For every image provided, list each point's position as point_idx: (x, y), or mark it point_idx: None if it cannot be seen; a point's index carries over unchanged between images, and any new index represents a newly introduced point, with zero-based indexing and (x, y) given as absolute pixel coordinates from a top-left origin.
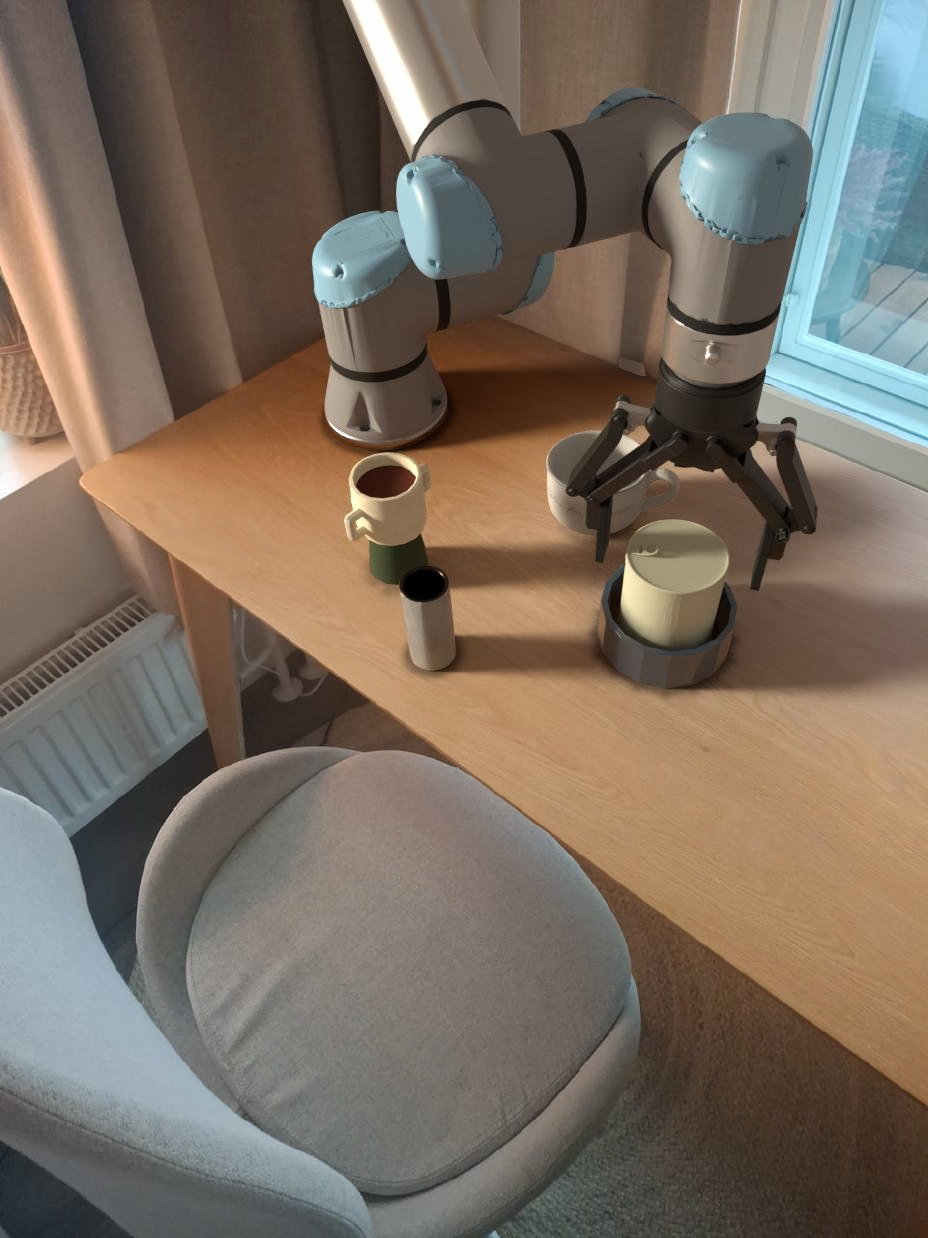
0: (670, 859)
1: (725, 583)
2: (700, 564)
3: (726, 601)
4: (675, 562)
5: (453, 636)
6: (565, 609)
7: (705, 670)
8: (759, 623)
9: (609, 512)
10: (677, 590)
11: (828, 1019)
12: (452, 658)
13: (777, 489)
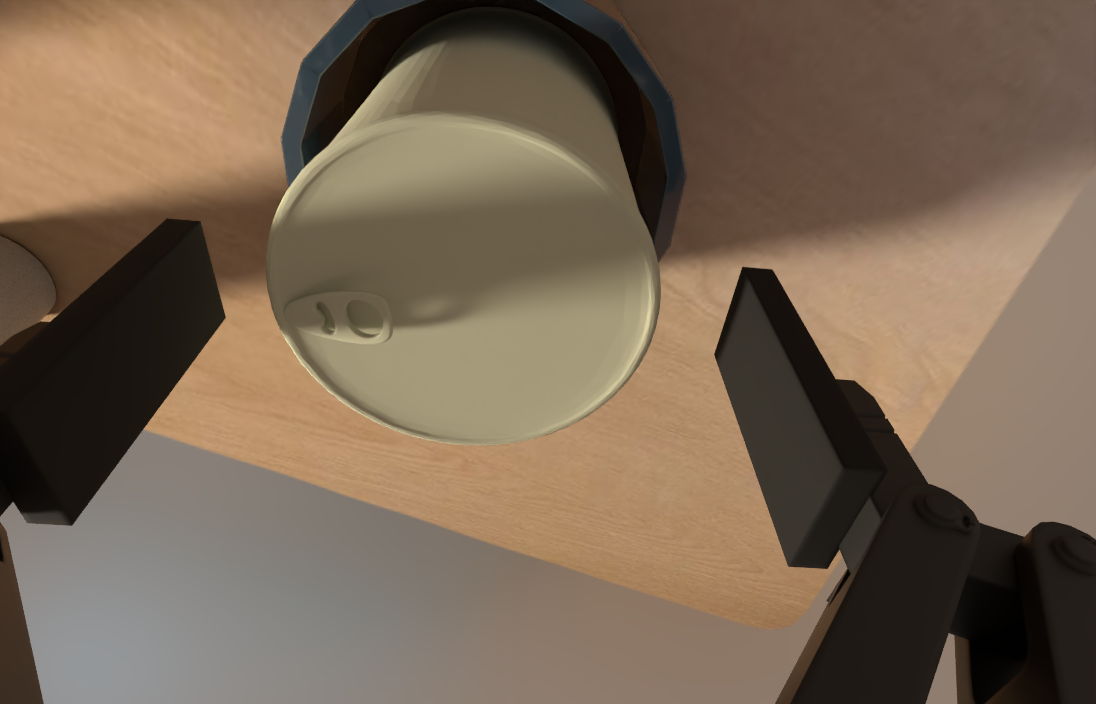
0: (552, 522)
1: (657, 87)
2: (552, 336)
3: (657, 136)
4: (464, 339)
5: (4, 316)
6: (221, 89)
7: None
8: (753, 51)
9: (94, 415)
10: (486, 439)
11: (719, 613)
12: (50, 295)
13: (942, 650)
